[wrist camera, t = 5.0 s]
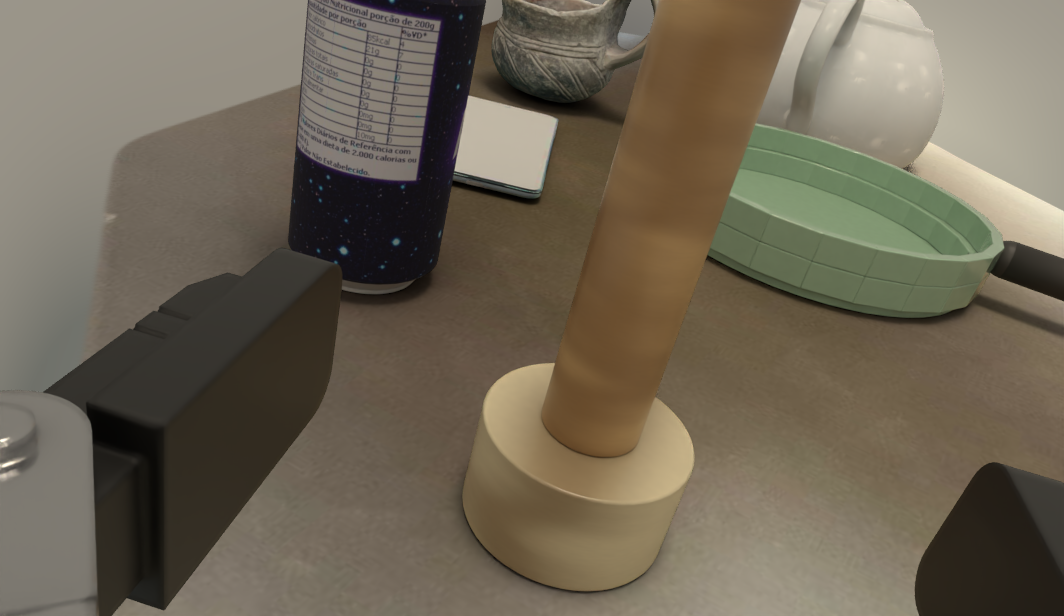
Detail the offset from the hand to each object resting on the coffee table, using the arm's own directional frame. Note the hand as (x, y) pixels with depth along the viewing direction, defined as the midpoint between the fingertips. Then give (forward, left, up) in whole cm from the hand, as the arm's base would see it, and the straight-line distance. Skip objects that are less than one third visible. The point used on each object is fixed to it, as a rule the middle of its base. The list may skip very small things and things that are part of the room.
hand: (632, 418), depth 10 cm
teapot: (-3, +63, -10) cm, 64 cm away
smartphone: (-18, +33, -10) cm, 39 cm away
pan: (0, +38, -9) cm, 39 cm away
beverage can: (-14, +15, -10) cm, 23 cm away
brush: (-2, +8, -9) cm, 13 cm away
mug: (-20, +48, -10) cm, 53 cm away
